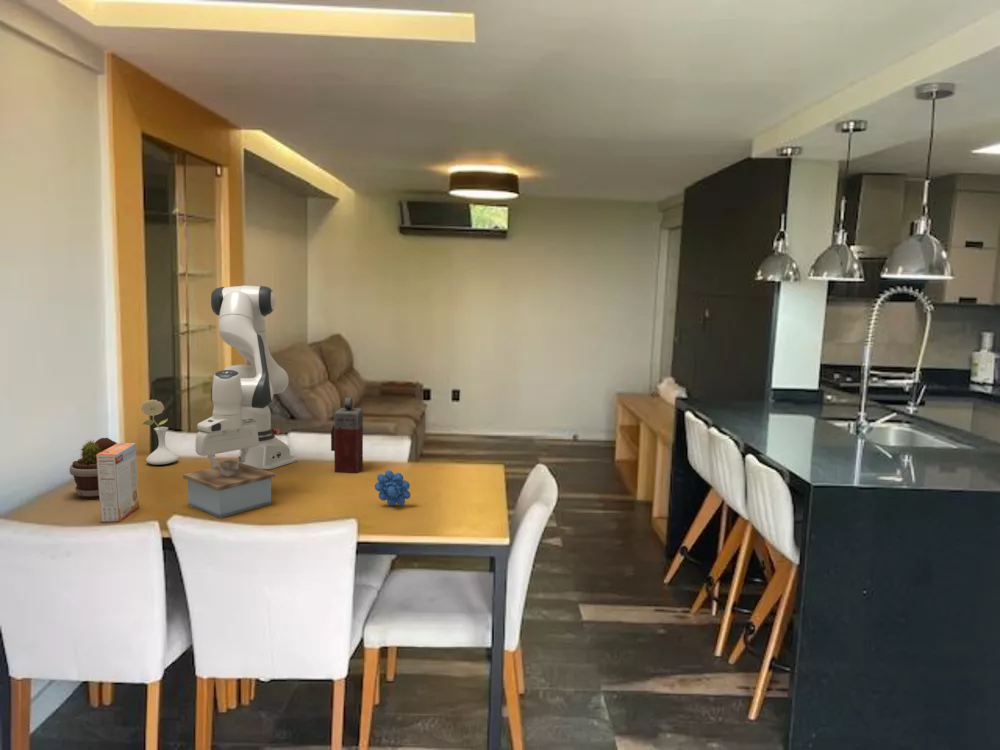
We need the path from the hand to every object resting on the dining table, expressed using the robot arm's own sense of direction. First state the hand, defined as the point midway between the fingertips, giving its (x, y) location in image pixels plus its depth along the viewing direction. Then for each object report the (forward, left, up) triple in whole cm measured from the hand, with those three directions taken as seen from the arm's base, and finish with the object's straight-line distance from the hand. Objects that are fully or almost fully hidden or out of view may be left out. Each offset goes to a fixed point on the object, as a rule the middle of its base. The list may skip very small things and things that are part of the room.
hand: (228, 464), depth 224 cm
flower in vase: (-10, -64, -14) cm, 66 cm away
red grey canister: (-52, -5, -14) cm, 54 cm away
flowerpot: (+23, -41, -14) cm, 49 cm away
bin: (0, 0, -13) cm, 13 cm away
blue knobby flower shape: (-33, +40, -14) cm, 54 cm away
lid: (0, 0, -4) cm, 4 cm away
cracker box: (+27, -16, -14) cm, 34 cm away
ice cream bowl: (+12, -57, -14) cm, 60 cm away
